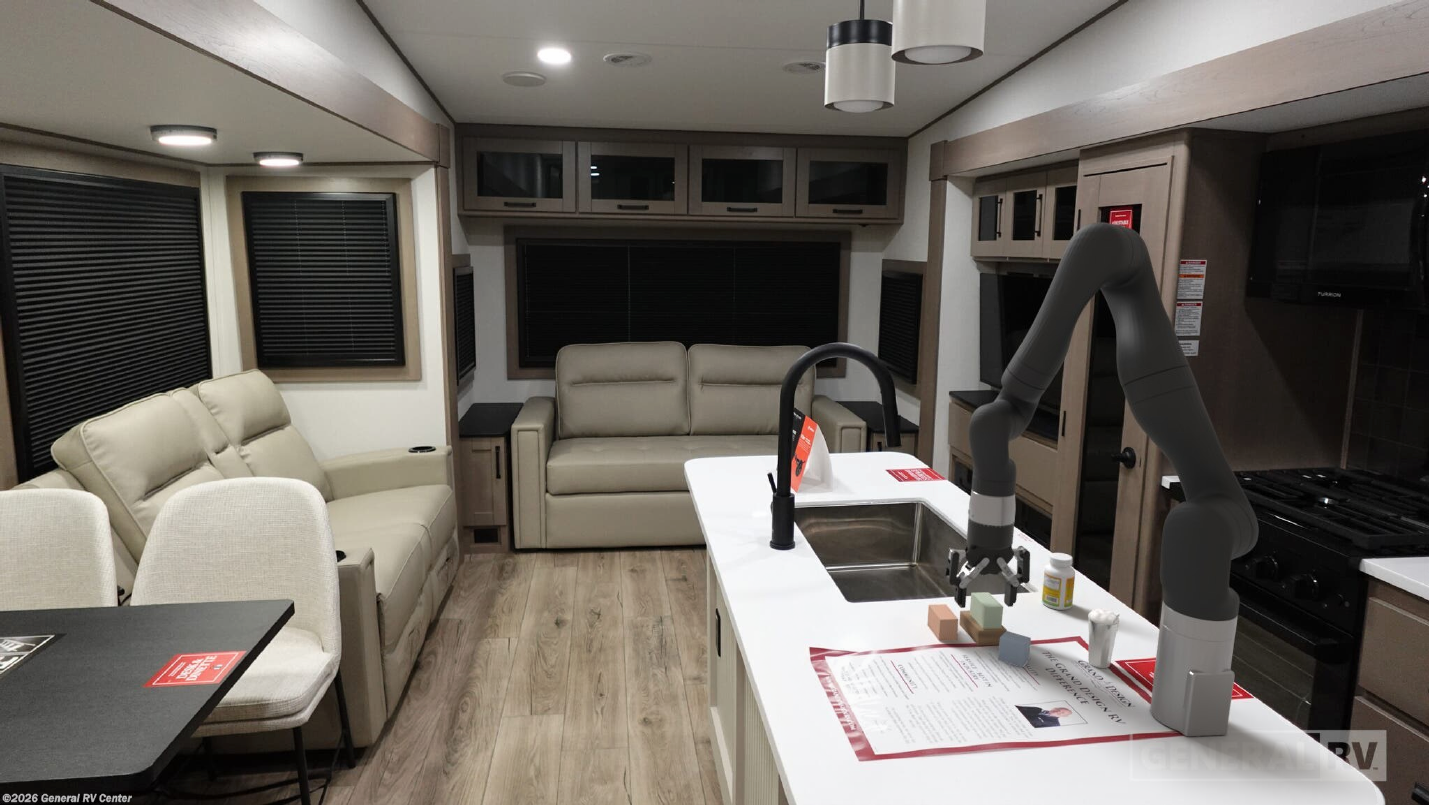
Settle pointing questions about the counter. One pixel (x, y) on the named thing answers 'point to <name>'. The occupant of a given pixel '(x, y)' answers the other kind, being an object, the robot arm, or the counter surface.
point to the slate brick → (1014, 649)
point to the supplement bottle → (1058, 582)
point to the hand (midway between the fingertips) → (984, 605)
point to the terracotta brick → (942, 622)
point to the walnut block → (980, 630)
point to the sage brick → (986, 610)
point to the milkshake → (1101, 637)
